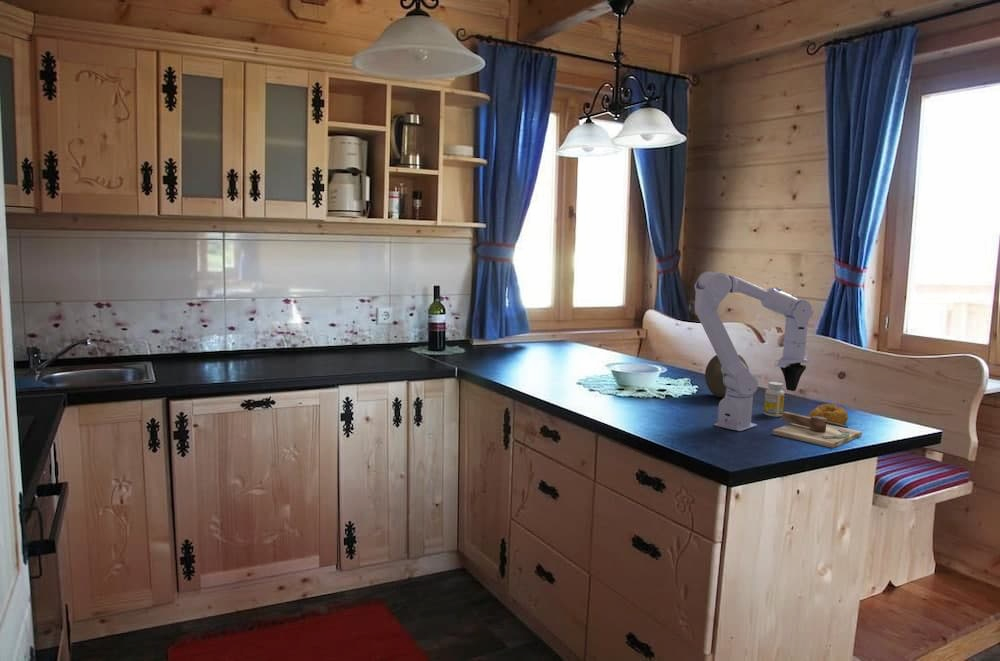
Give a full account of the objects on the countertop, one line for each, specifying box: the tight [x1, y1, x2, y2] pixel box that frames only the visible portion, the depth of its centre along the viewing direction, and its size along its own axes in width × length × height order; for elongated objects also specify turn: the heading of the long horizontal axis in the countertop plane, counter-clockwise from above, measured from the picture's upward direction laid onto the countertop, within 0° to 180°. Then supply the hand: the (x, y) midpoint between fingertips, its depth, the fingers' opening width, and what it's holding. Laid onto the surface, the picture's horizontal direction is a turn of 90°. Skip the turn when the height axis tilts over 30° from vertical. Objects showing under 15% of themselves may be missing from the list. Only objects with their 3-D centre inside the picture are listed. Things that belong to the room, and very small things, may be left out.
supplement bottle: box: [763, 381, 785, 418], centre depth 213 cm, size 5×5×10 cm
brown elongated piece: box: [781, 411, 849, 432], centre depth 193 cm, size 18×4×3 cm, turn 38°
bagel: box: [807, 403, 849, 426], centre depth 207 cm, size 10×11×5 cm
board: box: [772, 423, 863, 449], centre depth 192 cm, size 18×16×1 cm
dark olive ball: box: [704, 354, 750, 399], centre depth 234 cm, size 14×14×15 cm
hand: (791, 390), depth 200 cm, fingers closed
